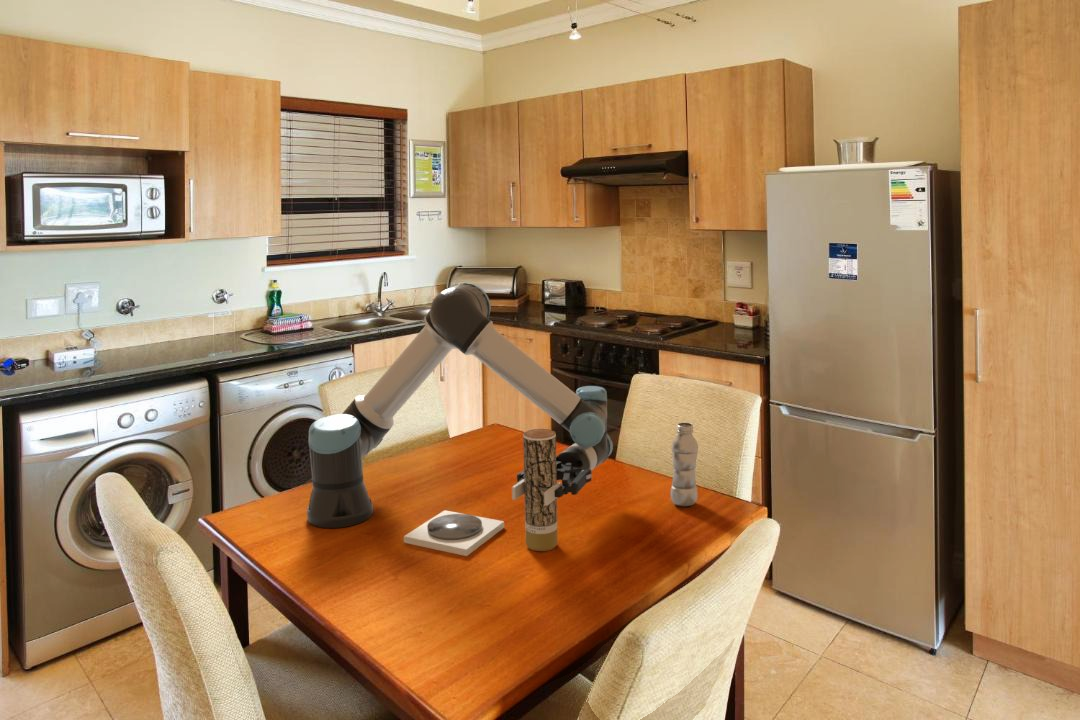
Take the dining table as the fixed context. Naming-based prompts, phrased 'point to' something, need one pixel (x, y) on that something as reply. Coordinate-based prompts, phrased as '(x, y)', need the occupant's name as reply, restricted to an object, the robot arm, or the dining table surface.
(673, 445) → the plastic bottle
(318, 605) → the dining table surface
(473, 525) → the domed button base
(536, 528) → the paper tube
